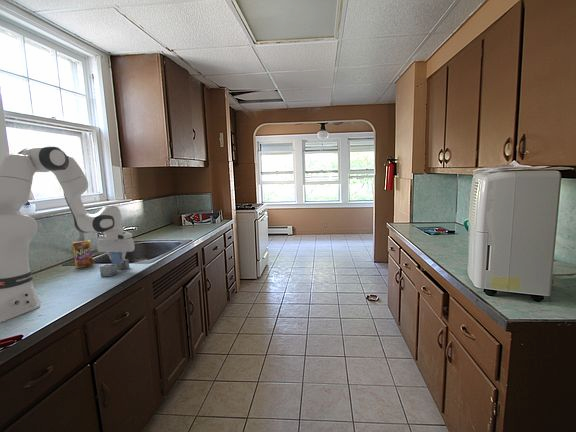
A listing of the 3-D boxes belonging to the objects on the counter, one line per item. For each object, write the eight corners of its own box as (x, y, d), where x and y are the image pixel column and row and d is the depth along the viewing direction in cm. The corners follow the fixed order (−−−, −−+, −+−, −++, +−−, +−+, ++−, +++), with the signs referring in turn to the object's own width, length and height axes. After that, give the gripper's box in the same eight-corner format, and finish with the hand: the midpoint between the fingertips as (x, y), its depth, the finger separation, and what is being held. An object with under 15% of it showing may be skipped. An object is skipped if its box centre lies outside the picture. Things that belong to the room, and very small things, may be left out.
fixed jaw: (126, 269, 179) (125, 260, 178) (116, 269, 179) (115, 260, 179) (129, 267, 182) (128, 259, 181) (119, 267, 182) (118, 259, 182)
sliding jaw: (111, 276, 166) (110, 267, 166) (100, 276, 167) (99, 267, 166) (118, 272, 172) (117, 263, 171) (108, 272, 173) (106, 264, 172)
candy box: (75, 268, 184) (72, 243, 181) (75, 267, 187) (72, 241, 185) (93, 265, 188) (90, 240, 186) (93, 264, 192) (90, 239, 190)
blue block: (120, 264, 174) (118, 253, 174) (111, 264, 175) (110, 253, 174) (124, 262, 178) (122, 251, 177) (115, 262, 179) (114, 251, 178)
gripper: (92, 236, 172) (96, 261, 174) (127, 236, 170) (130, 261, 172) (101, 234, 179) (104, 258, 181) (134, 233, 176) (137, 257, 178)
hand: (117, 259), depth 176 cm, fingers closed on blue block, 5 cm apart
